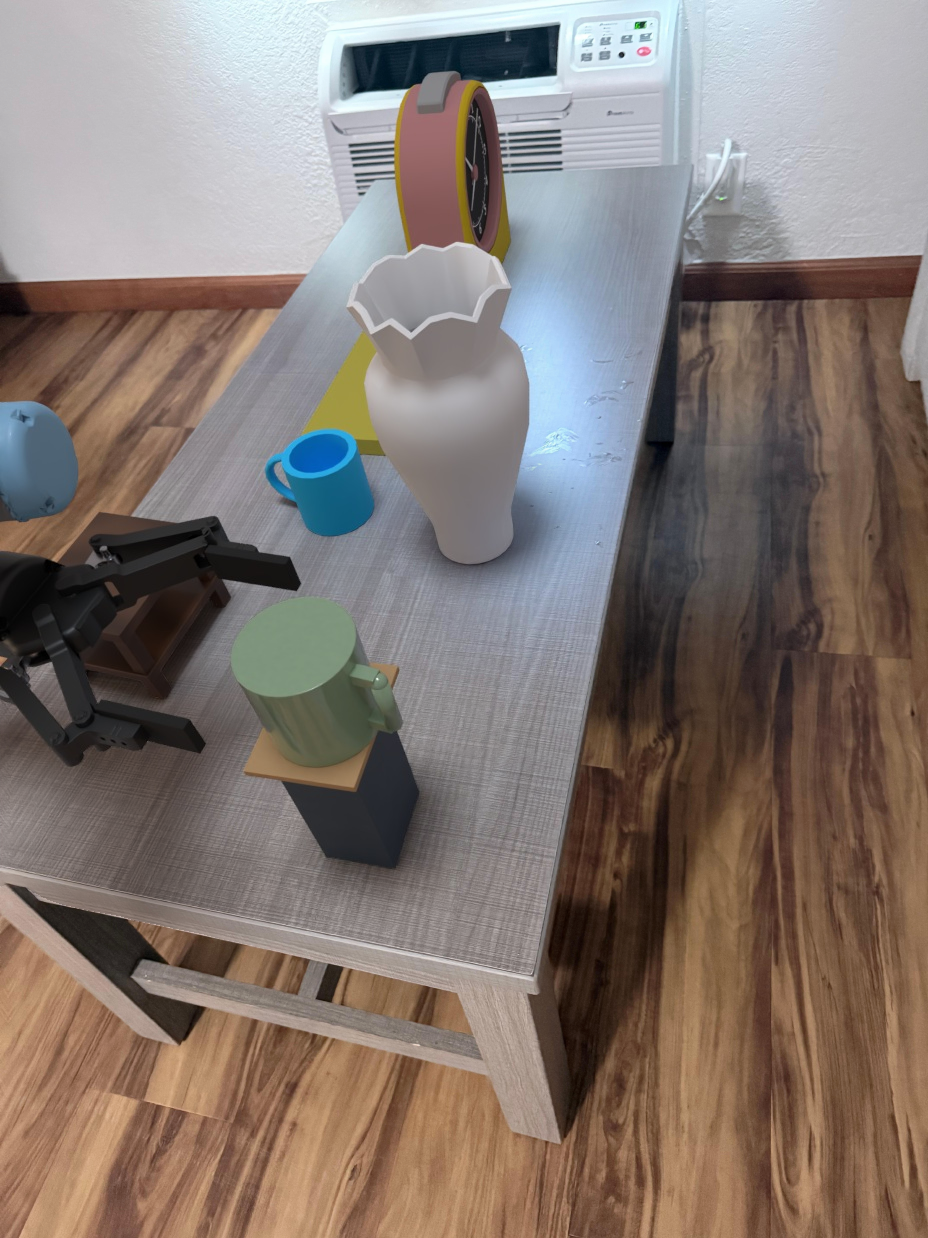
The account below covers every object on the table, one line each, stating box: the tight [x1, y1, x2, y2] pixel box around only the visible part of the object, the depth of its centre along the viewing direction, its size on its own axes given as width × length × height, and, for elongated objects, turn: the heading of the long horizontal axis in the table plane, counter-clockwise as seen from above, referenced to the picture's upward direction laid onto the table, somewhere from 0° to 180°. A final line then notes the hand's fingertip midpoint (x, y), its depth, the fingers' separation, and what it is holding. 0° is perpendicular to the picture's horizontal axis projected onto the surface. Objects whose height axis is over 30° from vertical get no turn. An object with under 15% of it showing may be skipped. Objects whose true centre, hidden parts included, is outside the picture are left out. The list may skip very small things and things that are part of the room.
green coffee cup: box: [230, 596, 404, 767], centre depth 57 cm, size 10×8×8 cm
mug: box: [264, 429, 375, 537], centre depth 96 cm, size 12×8×8 cm
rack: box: [56, 511, 232, 700], centre depth 87 cm, size 14×12×10 cm
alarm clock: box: [393, 70, 512, 266], centre depth 119 cm, size 21×9×26 cm, turn 167°
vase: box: [345, 242, 530, 565], centre depth 82 cm, size 15×15×29 cm
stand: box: [243, 661, 420, 870], centre depth 67 cm, size 10×8×16 cm
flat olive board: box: [300, 330, 386, 456], centre depth 112 cm, size 12×2×24 cm
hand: (248, 650), depth 57 cm, fingers open, 13 cm apart
